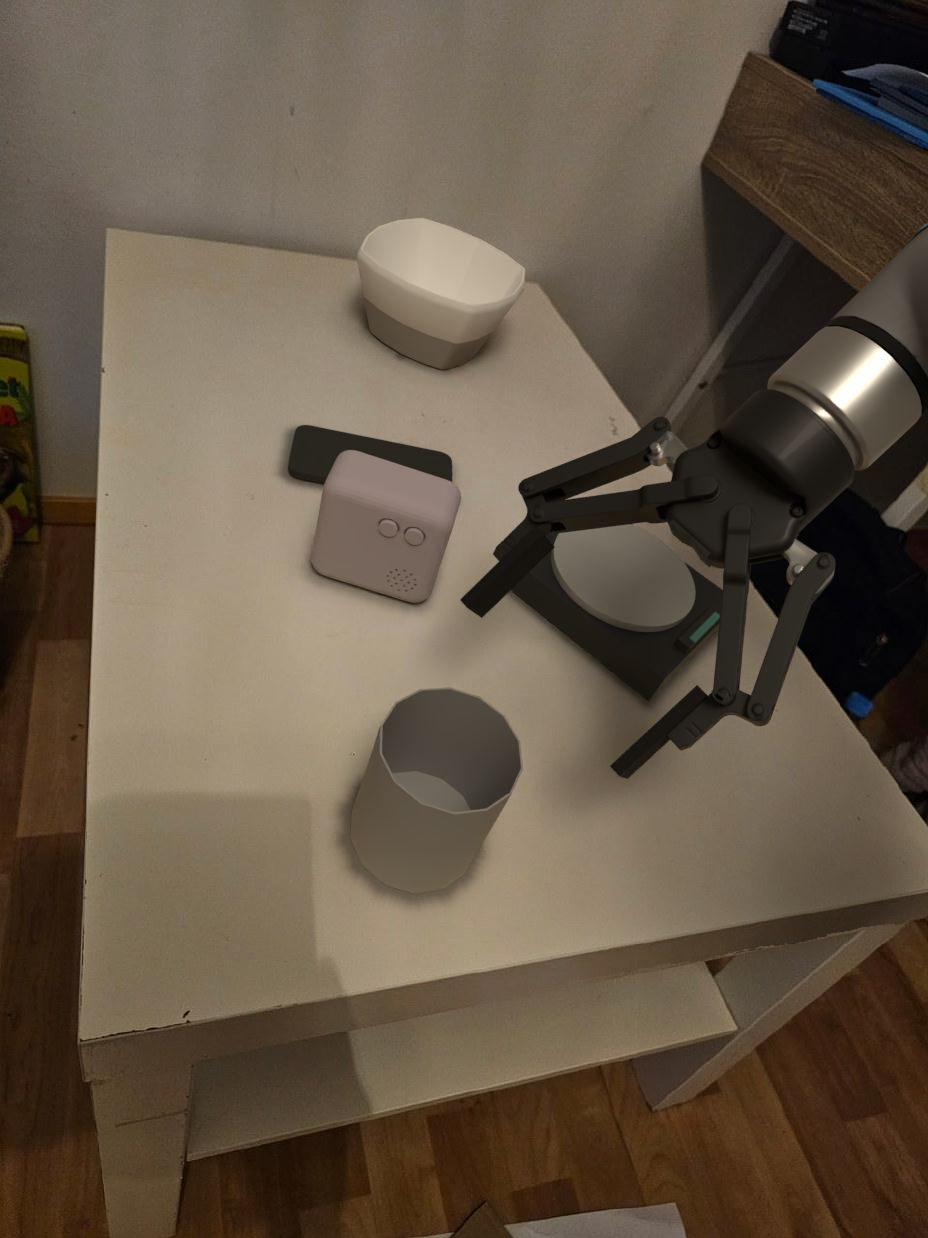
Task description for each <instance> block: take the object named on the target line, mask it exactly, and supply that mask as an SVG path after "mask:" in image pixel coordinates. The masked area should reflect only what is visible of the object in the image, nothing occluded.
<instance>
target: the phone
mask: <svg viewBox="0 0 928 1238" xmlns="http://www.w3.org/2000/svg"><path fill="white" fill-rule="evenodd" d="M347 450H355V451H359V452H362V453H365V454H368V455H371V456H375V457H378V458H381V459H384V460H387V461H390V462H393V463H396V464H399V465H402V466H405V467H409V468H412V469H415V470H418V471H421V472H424V473H427V474H430V475H433V476H436V477H440V478H443V479H446V480H448V481H451V482H452V483H453V459H452V457H451V456H450V455H449V454H447V453H446V452H443V451H440V450H435V449H430V448H425V447H420V446H415V445H409V444H405V443H401V442H395V441H391V440H385V439H380V438H375V437H371V436H365V435H360V434H355V433H351V432H345V431H339V430H335V429H330V428H325V427H320V426H315V425H311V424H301V425H298V426H297V427H296V428H295V431H294V433H293V439H292V444H291V448H290V454H289V458H288V464H287V470H288V471H287V472H288V473H289V475H290V476H293V477H294V478H296V479H300V480H305V481H311V482H316V483H322V484H325V481H326V479H327V477H328V475H329V473H330V471H331V469H332V467H333V465H334V463H335V461H336V458H337V457H338V455H339V454H340V453H342V452H344V451H347Z"/></svg>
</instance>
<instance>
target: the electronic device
mask: <svg viewBox="0 0 928 1238" xmlns="http://www.w3.org/2000/svg"><path fill="white" fill-rule="evenodd" d="M461 500H462V493H461V490H460V488H459V487H458V486H457V485H456V484H455V483H454V482H453V481H452V482H451V481H448V480H446V479H443V478H440V477H436V476H433V475H430V474H427V473H424V472H421V471H418V470H415V469H412V468H409V467H405V466H402V465H399V464H396V463H393V462H390V461H387V460H384V459H381V458H378V457H375V456H371V455H368V454H365V453H362V452H359V451H355V450H347V451H344V452H342V453H340V454H339V455H338V457H337V458H336V461H335V463H334V465H333V467H332V469H331V471H330V473H329V475H328V477H327V479H326V481H325V483H323V486H322V493H321V498H320V502H319V503H320V504H319V510H318V515H317V520H316V526H315V532H314V536H313V537H314V538H313V544H312V549H311V555H310V560H311V561H310V562H311V565H312V567H313V569H314V570H315V571H316V572H317V573H319V574H320V575H322V576H324V577H327V578H330V579H334V580H337V581H340V582H343V583H346V584H349V585H353V586H356V587H358V588H361V589H362V588H363V589H365V590H369V591H372V592H374V593H378V594H381V595H384V596H388V597H392V598H395V599H397V600H401V601H404V602H407V603H411V604H412V603H413V604H418V603H422V602H424V601H425V600H427V599H428V598H429V597H430V595H431V594H432V591H433V588H434V585H435V583H436V580H437V576H438V574H439V571H440V567H441V565H442V563H443V558H444V556H445V552H446V550H447V546H448V544H449V541H450V537H451V535H452V532H453V529H454V526H455V523H456V518H457V515H458V511H459V509H460V505H461Z"/></svg>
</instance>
